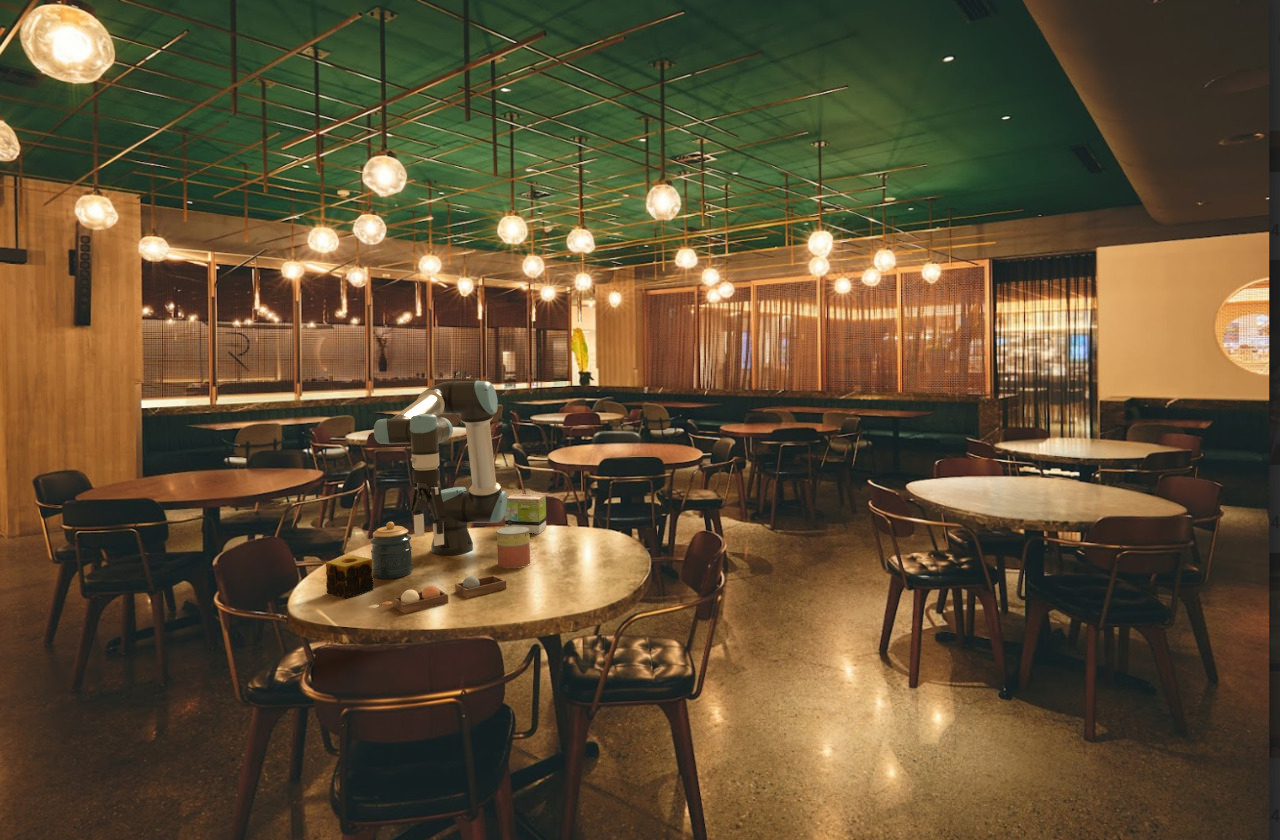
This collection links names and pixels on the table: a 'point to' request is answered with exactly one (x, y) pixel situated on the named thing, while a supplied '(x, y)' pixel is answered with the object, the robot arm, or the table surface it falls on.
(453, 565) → the table surface
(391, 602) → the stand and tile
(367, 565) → the brown block
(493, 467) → the robot arm
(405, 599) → the ball cream
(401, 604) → the trough
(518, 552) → the canned food
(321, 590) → the table surface
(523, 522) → the tea box
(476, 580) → the ball slate
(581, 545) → the table surface
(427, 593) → the ball terracotta
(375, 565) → the canister
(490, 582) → the trough
